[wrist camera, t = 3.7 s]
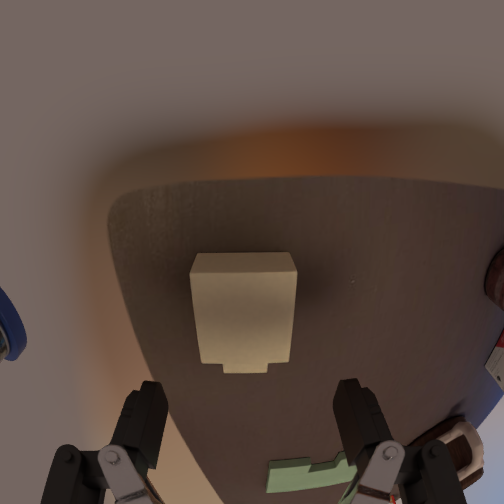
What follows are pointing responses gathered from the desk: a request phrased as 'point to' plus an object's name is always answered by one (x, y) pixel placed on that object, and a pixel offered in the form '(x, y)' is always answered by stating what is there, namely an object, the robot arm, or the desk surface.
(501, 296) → the can
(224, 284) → the cream pad
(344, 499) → the robot arm
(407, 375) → the desk surface
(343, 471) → the sage mat
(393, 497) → the board game
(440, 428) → the mug
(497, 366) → the ink box
